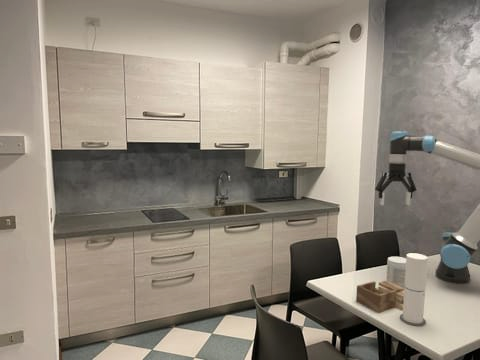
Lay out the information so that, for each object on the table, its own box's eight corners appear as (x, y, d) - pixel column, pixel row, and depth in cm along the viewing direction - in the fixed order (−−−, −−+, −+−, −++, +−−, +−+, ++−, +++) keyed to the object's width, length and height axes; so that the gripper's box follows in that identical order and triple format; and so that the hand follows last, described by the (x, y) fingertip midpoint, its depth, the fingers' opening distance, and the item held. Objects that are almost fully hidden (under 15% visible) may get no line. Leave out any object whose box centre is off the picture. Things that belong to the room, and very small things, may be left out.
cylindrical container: (398, 315, 139) (402, 254, 137) (412, 313, 142) (417, 252, 139) (412, 324, 133) (416, 260, 130) (427, 321, 135) (432, 258, 132)
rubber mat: (417, 314, 142) (417, 312, 142) (430, 325, 133) (430, 324, 133) (395, 314, 141) (395, 313, 141) (407, 326, 132) (407, 325, 132)
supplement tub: (412, 291, 163) (414, 260, 161) (400, 296, 158) (402, 264, 156) (393, 284, 171) (395, 254, 169) (381, 288, 166) (383, 258, 164)
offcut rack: (382, 293, 161) (383, 278, 160) (413, 307, 148) (414, 291, 147) (356, 301, 153) (356, 285, 152) (386, 316, 139) (387, 299, 139)
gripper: (417, 162, 181) (414, 203, 183) (369, 162, 179) (367, 203, 181) (425, 163, 173) (422, 206, 176) (376, 163, 171) (374, 206, 174)
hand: (394, 204), depth 179 cm, fingers open, 13 cm apart
